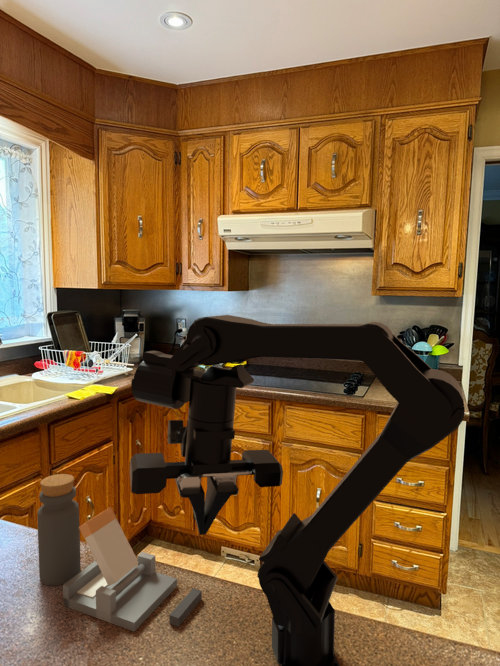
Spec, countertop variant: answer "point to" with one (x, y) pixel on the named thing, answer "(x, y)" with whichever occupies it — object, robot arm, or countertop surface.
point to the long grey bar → (185, 607)
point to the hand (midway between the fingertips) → (202, 533)
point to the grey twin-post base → (130, 605)
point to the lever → (111, 550)
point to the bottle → (58, 530)
